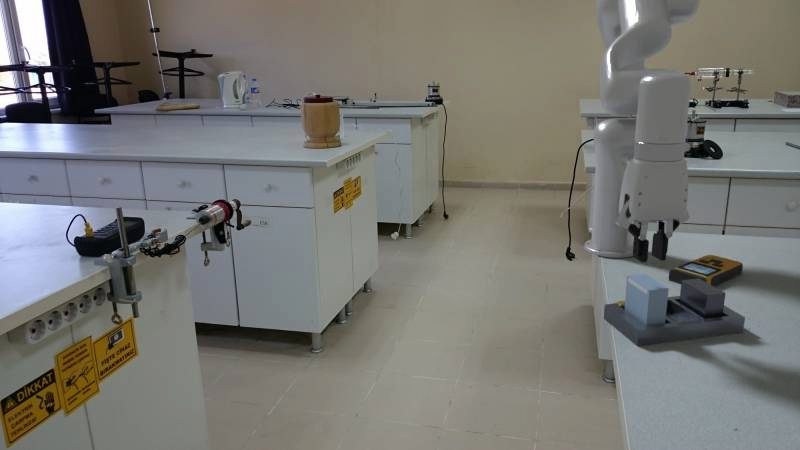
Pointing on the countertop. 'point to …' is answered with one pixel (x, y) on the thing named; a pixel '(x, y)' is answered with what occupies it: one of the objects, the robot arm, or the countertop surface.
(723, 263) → the electronic device
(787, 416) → the countertop surface
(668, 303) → the rack
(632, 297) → the light blue block
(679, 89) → the robot arm
